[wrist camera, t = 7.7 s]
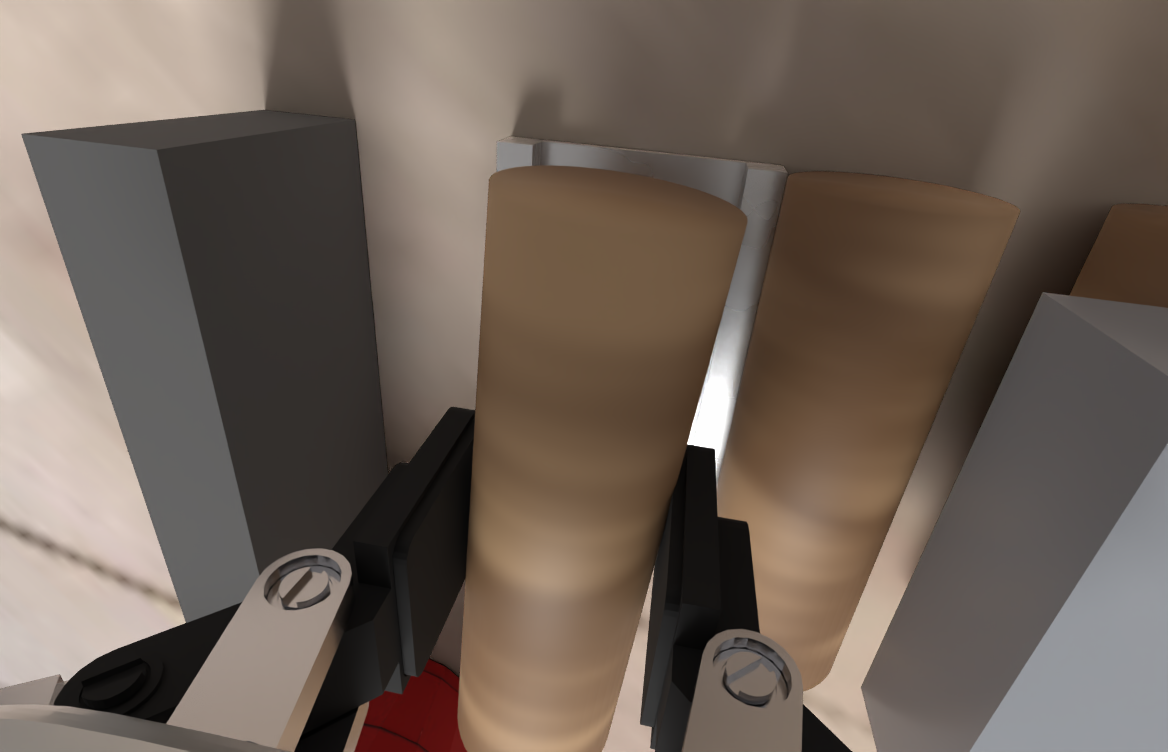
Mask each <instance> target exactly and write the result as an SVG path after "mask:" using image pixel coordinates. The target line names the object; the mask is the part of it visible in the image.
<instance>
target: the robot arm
mask: <svg viewBox="0 0 1168 752" xmlns="http://www.w3.org/2000/svg"><path fill="white" fill-rule="evenodd" d="M474 426H475V410H469V409H463V408H457V407H450V408H449V409H448V411H447V412H446V413H445V415H444V416H443V417H442V419H441V420H440V422H439V423H438V424H437V426H436V427H435V428H434V430H433V431H432V433H431V434H430V435H429V437H428V438H427V439H426V441H425V442H424V444H423V445H422V446H421V448H420V449H419V450H418V452H417V453H416V455H415V456H414V457H413V459H412V460H411V461H410V463H403V462H401V463H398V464H397V465H396V466H395V467H394V468H393V469H392V470H391V472H390V473H389V474H388V476H387V477H386V478H385V480H384V481H383V482H382V484H381V485H380V486H379V488H378V489H377V490H376V491H375V493H374V494H373V495H372V497H371V498H370V499H369V501H368V502H367V503H366V505H365V506H364V507H363V509H362V510H361V511H360V513H359V514H358V515H357V517H356V518H355V519H354V520H353V522H352V523H351V524H350V526H349V527H348V528H347V530H346V531H345V532H344V534H343V535H342V536H341V538H340V539H339V540H338V542H337V543H336V544H335V546H334V547H333V548H332V550H328V549H322V548H317V549H305V550H301V551H297V552H293V553H290V554H288V555H286V556H284V557H282V558H280V559H278V560H276V561H275V562H274V563H272V564H271V565H270V566H268V567H267V568H266V569H265V570H264V571H263V572H262V573H261V575H260V576H259V577H258V578H257V580H256V581H255V583H254V584H253V586H252V588H251V589H250V591H249V592H248V594H247V596H246V597H245V599H244V600H243V602H241V603H238V604H236V605H233V606H230V607H228V608H225V609H222V610H220V611H217V612H214V613H212V614H209V615H206V616H204V617H201V618H198V619H196V620H193V621H190V622H188V623H185V624H182V625H180V626H177V627H174V628H172V629H169V630H166V631H164V632H161V633H158V634H156V635H153V636H150V637H148V638H145V639H142V640H140V641H137V642H134V643H132V644H129V645H126V646H124V647H121V648H118V649H116V650H113V651H111V652H109V653H107V654H105V655H103V656H101V657H99V658H97V659H95V660H94V661H92V662H91V663H89V664H88V665H86V666H85V667H84V668H82V669H81V670H79V671H78V672H77V673H76V674H75V675H74V676H73V677H72V678H71V679H70V680H68V681H63V679H62V677H61V675H60V674H59V675H55V676H51V677H46V678H42V679H38V680H34V681H30V682H26V683H22V684H17V685H13V686H9V687H5V688H1V689H0V752H354V751H355V748H356V745H357V742H358V739H359V736H360V733H361V730H362V727H363V724H364V721H365V718H366V715H367V712H368V707H369V701H371V700H373V699H375V698H377V697H378V696H380V695H382V694H383V693H384V691H389V692H393V693H398V694H403V692H404V690H405V688H406V685H407V683H408V681H409V679H410V677H411V676H415V677H419V676H420V675H421V674H422V672H423V670H424V668H425V666H426V664H427V662H428V659H429V657H430V655H431V653H432V651H433V648H434V646H435V644H436V642H437V640H438V637H439V635H440V633H441V631H442V629H443V626H444V624H445V622H446V620H447V618H448V615H449V613H450V611H451V609H452V607H453V604H454V602H455V600H456V598H457V596H458V593H459V591H460V589H461V587H462V585H463V582H464V580H465V578H466V561H467V544H468V528H469V511H470V494H471V477H472V460H473V443H474ZM640 725H645V726H650V727H652V733H651V746H650V748H651V749H655V752H852V751H851V750H850V749H849V748H848V747H847V746H846V745H845V744H844V743H843V742H842V741H840V740H839V739H838V738H837V737H836V736H835V735H834V734H833V733H832V732H831V731H830V730H829V729H828V728H827V727H826V726H825V725H824V724H823V723H822V722H821V721H820V720H819V719H818V718H817V717H816V716H815V715H814V714H813V713H812V712H811V711H810V710H809V709H808V708H807V707H805V706H804V705H803V684H802V677H801V673H800V671H799V669H798V667H797V665H796V663H795V661H794V659H793V658H792V657H791V656H790V655H789V654H788V652H787V651H786V650H785V649H784V648H783V647H782V646H780V645H779V644H778V643H776V642H775V641H774V640H772V639H771V638H769V637H767V636H764V635H762V634H760V628H759V619H758V609H757V599H756V590H755V580H754V571H753V561H752V552H751V542H750V533H749V526H748V523H747V522H746V521H740V520H735V519H729V518H723V517H718V513H717V486H716V460H715V449H714V448H708V447H702V446H695V445H689V444H687V447H686V451H685V454H684V458H683V462H682V465H681V469H680V473H679V476H678V480H677V484H676V486H675V488H674V491H673V494H672V498H671V503H670V507H669V511H668V516H667V520H666V524H665V528H664V532H663V535H662V539H661V543H660V546H659V550H658V554H657V557H656V561H655V566H654V577H653V587H652V598H651V609H650V620H649V631H648V642H647V653H646V664H645V675H644V686H643V697H642V708H641V719H640Z"/></svg>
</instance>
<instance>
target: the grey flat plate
mask: <svg viewBox="0 0 1168 752" xmlns="http://www.w3.org/2000/svg"><path fill="white" fill-rule="evenodd" d="M539 165H553V166H574V167H586V168H596V169H605V170H612V171H619V172H625V173H631V174H636V175H642V176H647V177H651V178H656V179H661V180H665V181H669V182H673V183H677V184H680V185H684V186H687V187H691V188H694V189H697V190H700V191H703V192H706V193H709V194H711V195H714V196H716V197H719V198H721V199H723V200H725V201H727V202H729V203H731V204H733V205H734V206H736V207H737V208H739V209H740V210H742V211H743V213H744V214H745V215H746V216H747V218H748V222H747V226H746V230H745V234H744V237H743V241H742V245H741V248H740V252H739V256H738V259H737V263H736V267H735V270H734V274H733V278H732V281H731V285H730V289H729V293H728V296H727V300H726V304H725V307H724V311H723V315H722V318H721V322H720V326H719V329H718V333H717V337H716V340H715V344H714V348H713V351H712V355H711V359H710V362H709V366H708V370H707V373H706V377H705V381H704V384H703V388H702V392H701V396H700V399H699V403H698V407H697V410H696V414H695V418H694V421H693V425H692V429H691V432H690V436H689V440H688V443H687V444H689V445H695V446H702V447H708V448H714V449H715V460H716V486H717V483H718V478H719V474H720V470H721V465H722V461H723V456H724V452H725V448H726V443H727V439H728V434H729V430H730V426H731V421H732V417H733V412H734V408H735V404H736V399H737V395H738V390H739V386H740V382H741V377H742V373H743V369H744V364H745V360H746V355H747V351H748V347H749V342H750V338H751V333H752V329H753V325H754V320H755V316H756V311H757V307H758V303H759V298H760V294H761V290H762V285H763V281H764V276H765V272H766V268H767V263H768V259H769V254H770V250H771V246H772V241H773V237H774V232H775V228H776V224H777V219H778V215H779V210H780V206H781V202H782V197H783V193H784V189H785V184H786V180H787V175H788V172H787V171H786V169H785V168H784V167H783V166H782V165H777V164H768V163H758V162H749V161H739V160H730V159H720V158H711V157H702V156H692V155H683V154H673V153H664V152H655V151H645V150H636V149H626V148H617V147H607V146H598V145H589V144H579V143H570V142H560V141H551V140H542V139H532V138H523V137H513V136H511V137H508V138H505V139H502V140H499V141H497V172H498V171H501V170H505V169H508V168H514V167H522V166H539Z"/></svg>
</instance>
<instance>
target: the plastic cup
mask: <svg viewBox="0 0 1168 752" xmlns="http://www.w3.org/2000/svg"><path fill="white" fill-rule="evenodd" d="M459 680H460V678H459V677H458V676H456V675H455V674H454V673H453V672H451V671H450V670H449V669H448V668H447V667H445V666H443V665H441V664H439V663H436V662H434V661H432V660H430V659H428V662H427V664H426V666H425V668H424V670H423V672H422V674H421V675H420V676H419V677H415V676H411V677H410V679H409V681H408V683H407V685H406V688H405V690H404V692H403V694H398V693H393V692H389V691H384V693H383V694H382V695H380V696H378V697H377V698H375V699H373V700H371V701H369V707H368V712H367V715H366V718H365V721H364V724H363V727H362V730H361V733H360V736H359V739H358V742H357V745H356V748H355V751H354V752H467V750H466V749H465V747H464V744H463V741H462V739H461V736H460V732H459V727H458V697H459Z"/></svg>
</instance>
